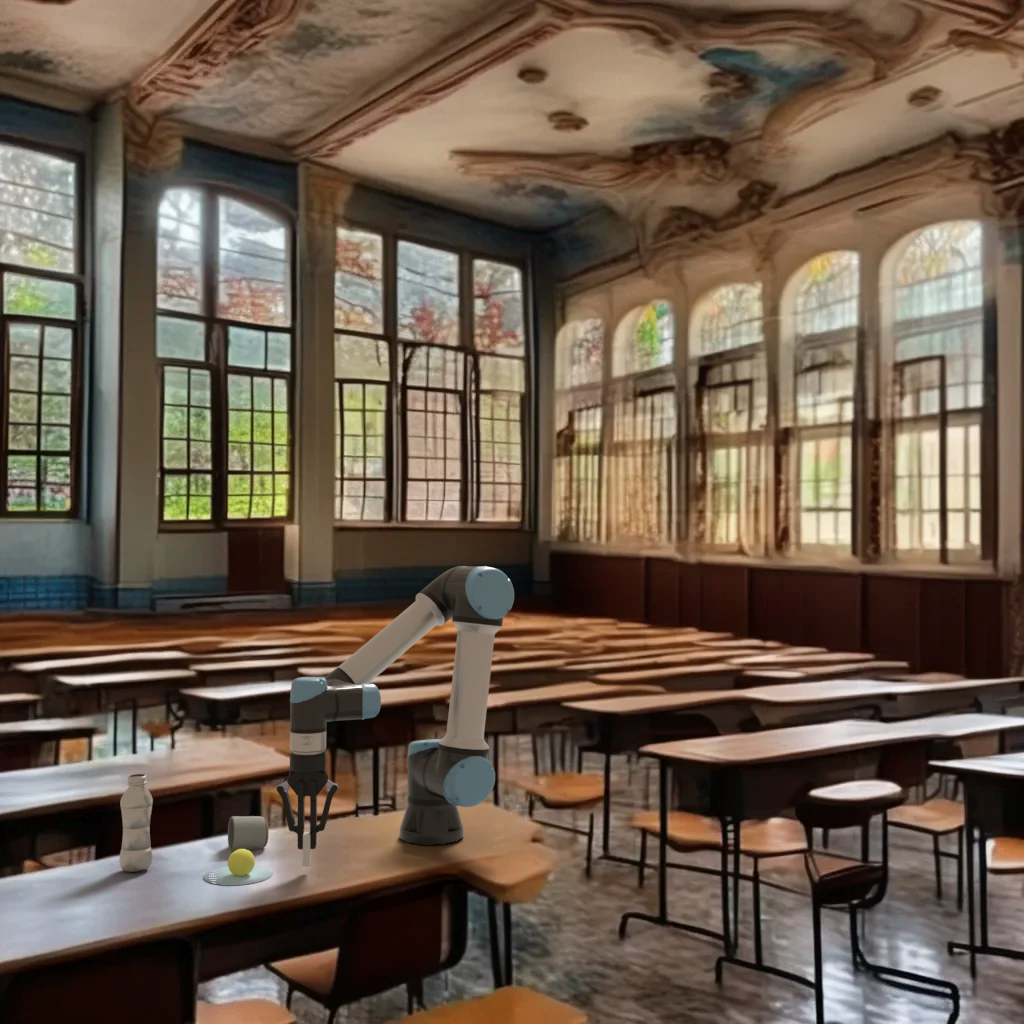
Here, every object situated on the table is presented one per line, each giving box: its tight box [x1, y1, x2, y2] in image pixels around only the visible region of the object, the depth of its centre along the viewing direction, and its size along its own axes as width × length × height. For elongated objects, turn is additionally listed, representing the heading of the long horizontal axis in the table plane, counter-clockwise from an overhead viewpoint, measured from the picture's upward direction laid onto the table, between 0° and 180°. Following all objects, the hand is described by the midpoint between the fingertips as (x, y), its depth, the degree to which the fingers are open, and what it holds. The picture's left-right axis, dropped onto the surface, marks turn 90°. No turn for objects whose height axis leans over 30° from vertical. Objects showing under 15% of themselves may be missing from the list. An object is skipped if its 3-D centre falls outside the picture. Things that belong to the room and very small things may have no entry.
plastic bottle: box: [119, 773, 154, 873], centre depth 235 cm, size 6×7×20 cm
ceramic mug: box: [227, 815, 269, 853], centre depth 254 cm, size 11×8×8 cm
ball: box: [227, 849, 256, 876], centre depth 231 cm, size 6×6×6 cm
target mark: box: [203, 865, 274, 887], centre depth 232 cm, size 14×14×1 cm
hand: (306, 864), depth 233 cm, fingers closed
